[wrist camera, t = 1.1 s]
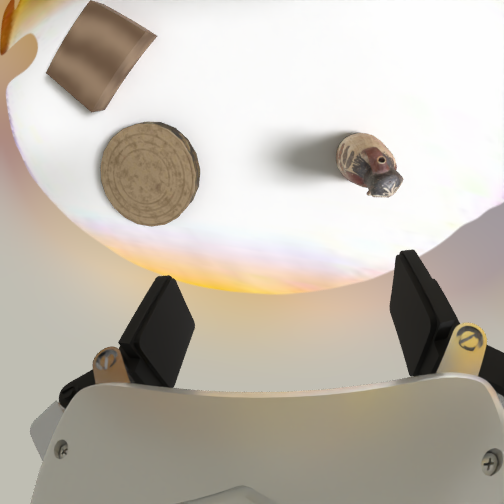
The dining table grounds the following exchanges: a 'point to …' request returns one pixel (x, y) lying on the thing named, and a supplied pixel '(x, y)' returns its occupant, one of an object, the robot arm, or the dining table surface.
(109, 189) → the wood slice coaster
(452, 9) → the dining table surface
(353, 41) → the dining table surface
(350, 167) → the figurine
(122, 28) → the walnut base
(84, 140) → the dining table surface
